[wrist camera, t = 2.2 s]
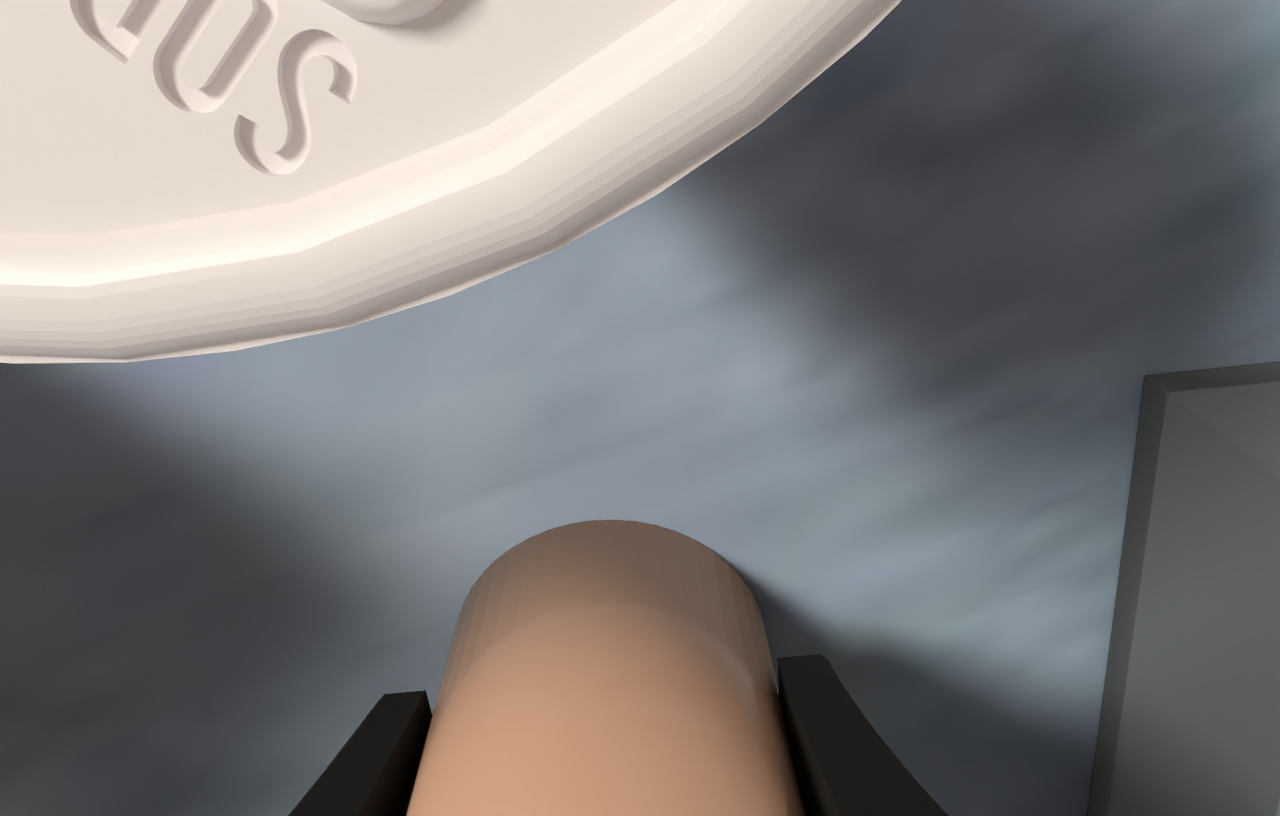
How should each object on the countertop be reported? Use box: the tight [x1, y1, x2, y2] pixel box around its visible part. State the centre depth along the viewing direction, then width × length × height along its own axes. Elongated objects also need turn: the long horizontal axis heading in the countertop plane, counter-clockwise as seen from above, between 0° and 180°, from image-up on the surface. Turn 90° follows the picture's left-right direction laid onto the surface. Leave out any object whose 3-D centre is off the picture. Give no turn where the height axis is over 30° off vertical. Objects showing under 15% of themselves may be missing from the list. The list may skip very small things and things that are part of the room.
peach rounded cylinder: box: [406, 520, 806, 816], centre depth 12 cm, size 5×5×6 cm
